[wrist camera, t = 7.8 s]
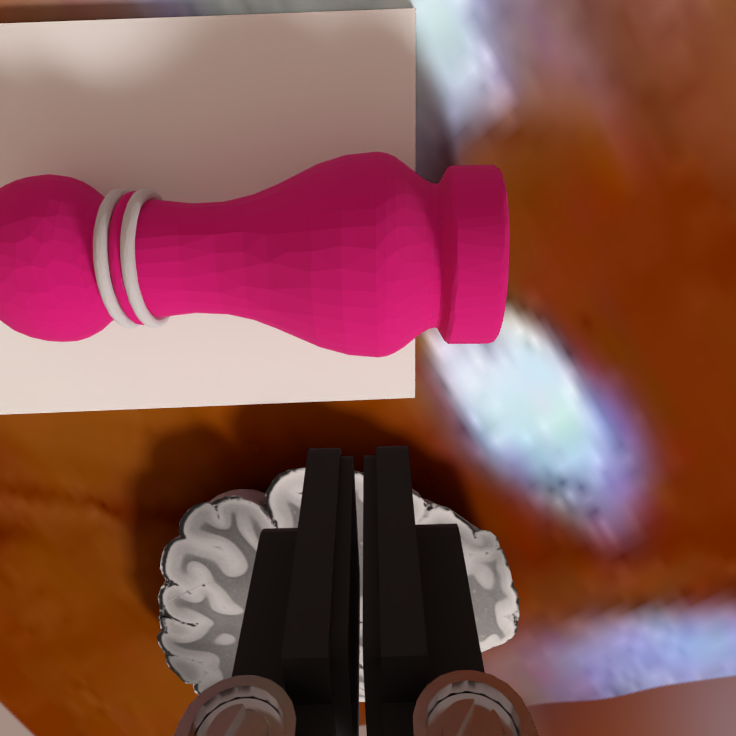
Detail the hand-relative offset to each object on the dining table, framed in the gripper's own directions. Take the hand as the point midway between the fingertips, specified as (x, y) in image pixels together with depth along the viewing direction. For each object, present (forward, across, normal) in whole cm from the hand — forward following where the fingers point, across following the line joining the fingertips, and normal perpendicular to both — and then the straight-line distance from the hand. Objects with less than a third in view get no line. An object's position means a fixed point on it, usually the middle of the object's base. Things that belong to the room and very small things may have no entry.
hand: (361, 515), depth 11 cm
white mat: (+18, +8, +1) cm, 19 cm away
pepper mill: (+14, -5, 0) cm, 15 cm away
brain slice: (+18, +3, +20) cm, 27 cm away
